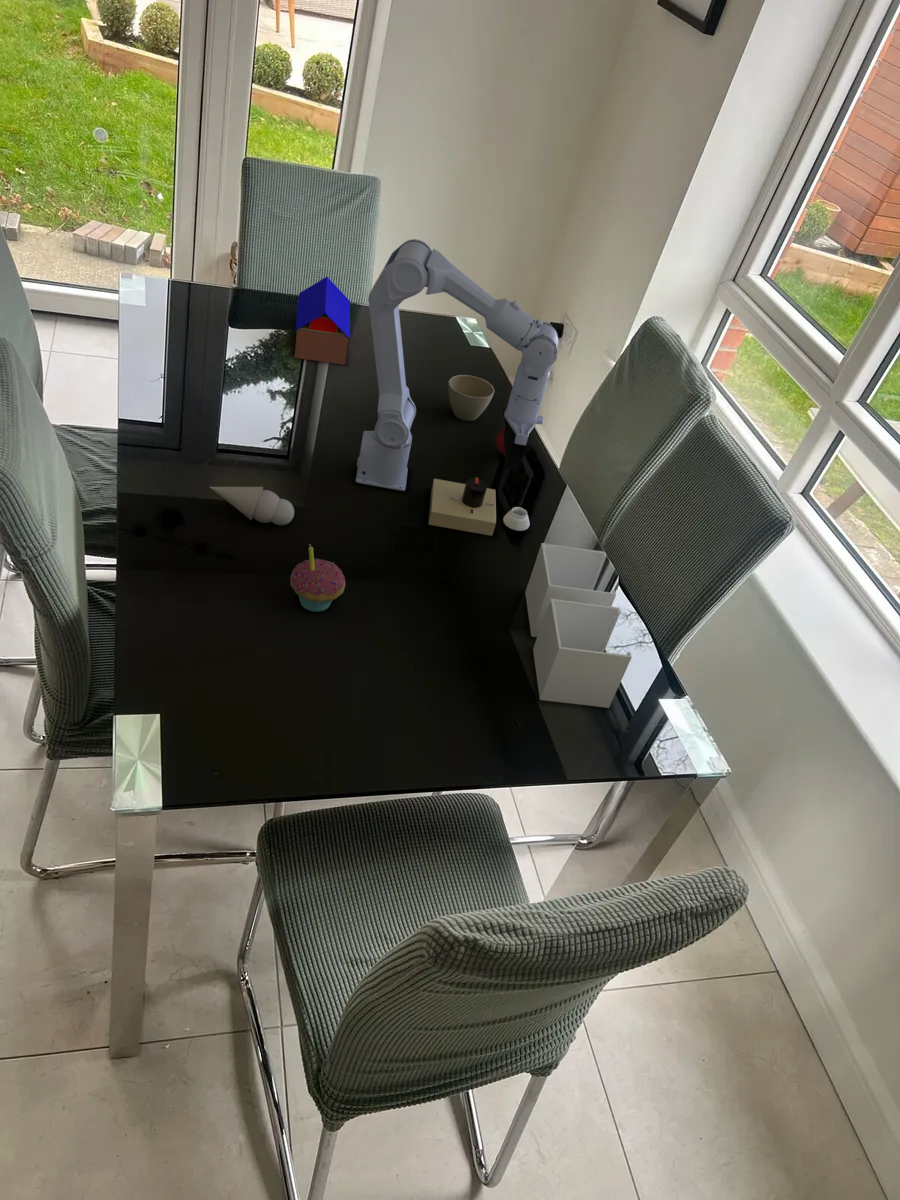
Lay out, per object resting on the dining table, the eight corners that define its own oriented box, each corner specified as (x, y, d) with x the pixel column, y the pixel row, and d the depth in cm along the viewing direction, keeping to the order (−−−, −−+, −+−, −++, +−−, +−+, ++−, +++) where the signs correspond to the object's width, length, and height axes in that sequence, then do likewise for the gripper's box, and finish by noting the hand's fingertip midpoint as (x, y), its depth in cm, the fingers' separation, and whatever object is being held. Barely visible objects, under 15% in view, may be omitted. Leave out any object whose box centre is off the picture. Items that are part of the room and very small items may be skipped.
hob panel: (428, 524, 167) (431, 510, 165) (431, 491, 175) (434, 477, 173) (492, 536, 168) (496, 522, 166) (492, 502, 176) (495, 488, 174)
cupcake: (298, 623, 141) (305, 564, 133) (280, 588, 146) (286, 529, 138) (350, 613, 145) (359, 555, 137) (330, 580, 150) (338, 521, 142)
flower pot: (495, 416, 202) (502, 388, 198) (472, 432, 195) (479, 402, 191) (458, 398, 205) (464, 369, 201) (434, 413, 198) (440, 383, 194)
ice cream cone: (205, 504, 158) (288, 533, 161) (201, 502, 152) (287, 532, 155) (216, 471, 158) (299, 500, 161) (213, 468, 152) (299, 498, 155)
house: (293, 358, 205) (297, 308, 197) (296, 319, 219) (301, 272, 212) (346, 365, 207) (352, 317, 199) (346, 326, 222) (352, 280, 214)
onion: (517, 466, 188) (526, 433, 183) (490, 459, 188) (499, 425, 183) (521, 453, 193) (530, 420, 187) (494, 445, 193) (503, 412, 188)
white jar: (514, 513, 175) (497, 521, 172) (517, 500, 173) (501, 509, 170) (533, 526, 173) (517, 535, 170) (537, 514, 171) (521, 522, 168)
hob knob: (482, 509, 168) (487, 491, 166) (461, 505, 168) (466, 487, 165) (482, 497, 172) (487, 479, 169) (461, 493, 171) (466, 475, 168)
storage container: (525, 592, 157) (541, 542, 150) (586, 601, 159) (605, 552, 152) (539, 699, 138) (559, 648, 131) (608, 707, 140) (631, 657, 133)
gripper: (551, 417, 156) (532, 483, 165) (547, 378, 167) (529, 441, 176) (511, 409, 155) (493, 476, 164) (510, 370, 166) (493, 435, 175)
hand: (509, 457), depth 170 cm, fingers open, 7 cm apart
